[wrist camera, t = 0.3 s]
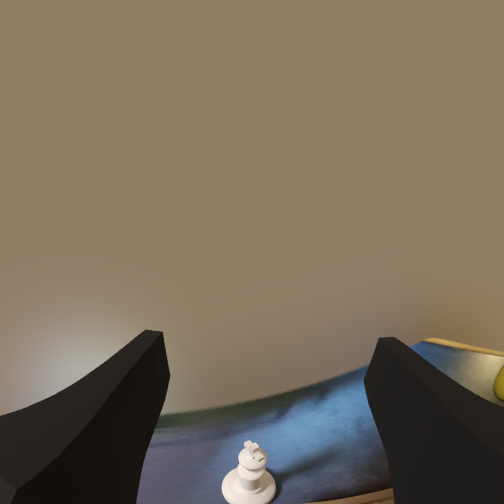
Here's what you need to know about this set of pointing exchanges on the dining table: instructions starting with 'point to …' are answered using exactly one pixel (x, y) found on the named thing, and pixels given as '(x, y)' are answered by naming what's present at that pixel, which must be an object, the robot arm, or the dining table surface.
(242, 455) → the chess piece
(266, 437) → the dining table surface
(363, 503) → the tray
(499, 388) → the lemon
